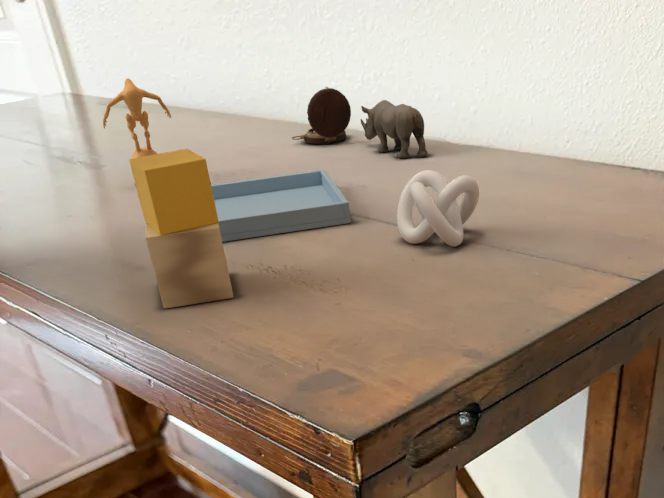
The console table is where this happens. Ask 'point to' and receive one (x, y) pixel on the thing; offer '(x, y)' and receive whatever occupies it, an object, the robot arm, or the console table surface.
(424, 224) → the knot
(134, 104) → the figurine
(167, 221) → the top block
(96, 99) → the console table surface
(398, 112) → the rhino figurine
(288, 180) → the tray
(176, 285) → the base block
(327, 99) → the compass
